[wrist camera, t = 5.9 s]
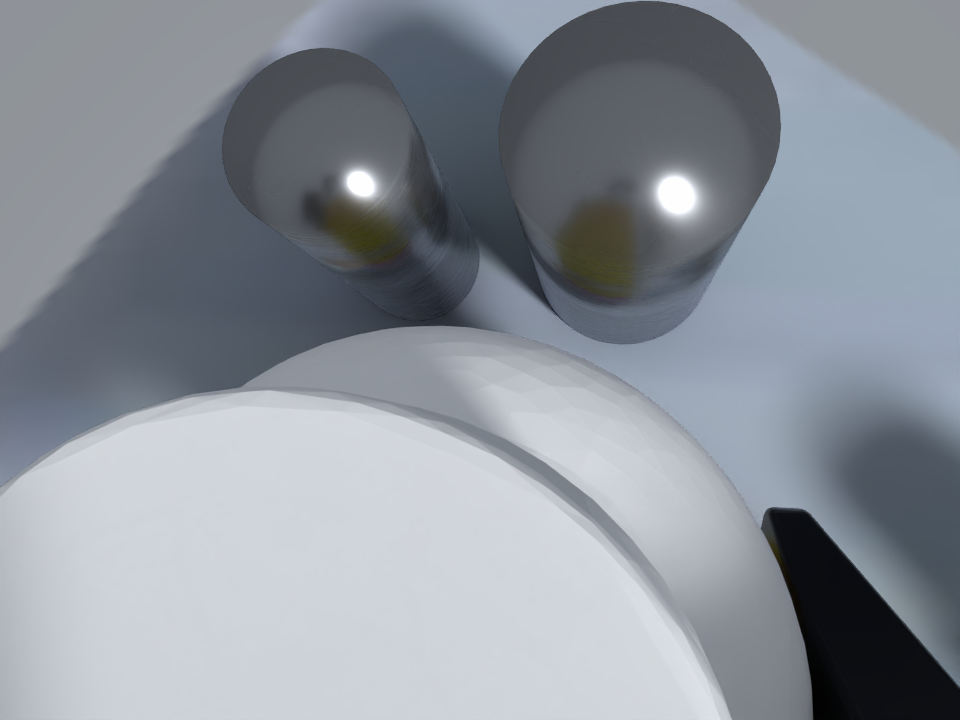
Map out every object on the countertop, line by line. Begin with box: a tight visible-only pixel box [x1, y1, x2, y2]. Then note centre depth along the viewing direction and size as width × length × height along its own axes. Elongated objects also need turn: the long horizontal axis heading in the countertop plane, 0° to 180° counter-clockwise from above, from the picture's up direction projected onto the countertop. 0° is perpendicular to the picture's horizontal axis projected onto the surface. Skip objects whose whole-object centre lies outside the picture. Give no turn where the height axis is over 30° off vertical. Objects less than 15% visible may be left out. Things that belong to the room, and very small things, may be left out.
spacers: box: [222, 1, 781, 344], centre depth 13 cm, size 10×24×7 cm, turn 63°
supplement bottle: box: [0, 326, 813, 720], centre depth 10 cm, size 7×7×13 cm
